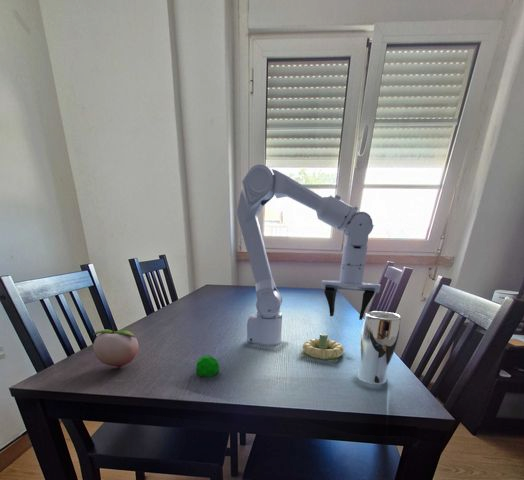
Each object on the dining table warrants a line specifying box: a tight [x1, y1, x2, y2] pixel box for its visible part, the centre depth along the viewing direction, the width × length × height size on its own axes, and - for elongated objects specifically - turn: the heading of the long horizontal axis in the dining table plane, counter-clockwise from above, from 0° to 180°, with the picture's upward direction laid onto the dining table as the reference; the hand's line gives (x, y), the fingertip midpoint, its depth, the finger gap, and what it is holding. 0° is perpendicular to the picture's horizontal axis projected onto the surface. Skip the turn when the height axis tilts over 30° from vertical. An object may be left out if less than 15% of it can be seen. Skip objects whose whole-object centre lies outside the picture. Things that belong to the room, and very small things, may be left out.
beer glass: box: [357, 310, 402, 386], centre depth 58 cm, size 7×7×15 cm
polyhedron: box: [195, 355, 220, 378], centre depth 61 cm, size 5×5×5 cm
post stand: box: [300, 333, 339, 363], centre depth 73 cm, size 9×9×6 cm
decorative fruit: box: [92, 325, 140, 368], centre depth 63 cm, size 9×8×10 cm
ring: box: [301, 338, 345, 360], centre depth 73 cm, size 10×10×2 cm
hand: (346, 317), depth 76 cm, fingers open, 7 cm apart
